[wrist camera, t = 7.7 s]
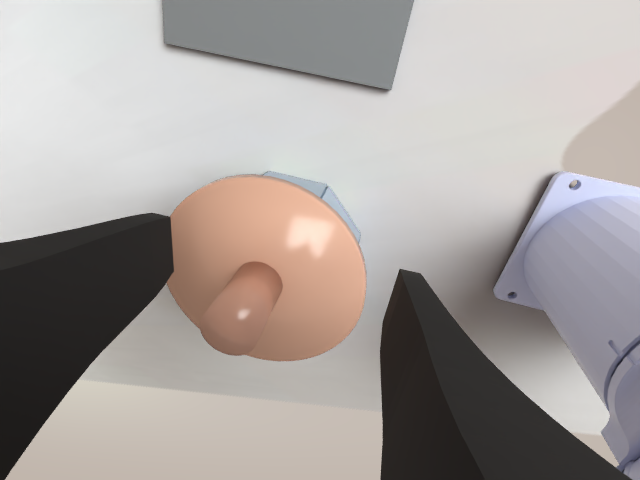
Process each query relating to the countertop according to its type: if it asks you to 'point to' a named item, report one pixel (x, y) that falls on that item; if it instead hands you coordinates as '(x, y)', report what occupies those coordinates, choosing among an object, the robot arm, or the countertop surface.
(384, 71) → the mat
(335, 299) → the lid
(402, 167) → the countertop surface
